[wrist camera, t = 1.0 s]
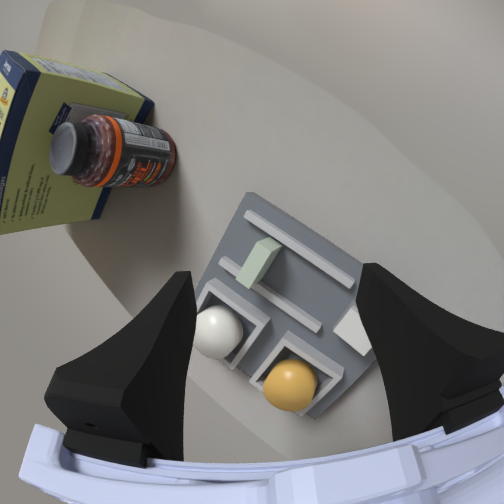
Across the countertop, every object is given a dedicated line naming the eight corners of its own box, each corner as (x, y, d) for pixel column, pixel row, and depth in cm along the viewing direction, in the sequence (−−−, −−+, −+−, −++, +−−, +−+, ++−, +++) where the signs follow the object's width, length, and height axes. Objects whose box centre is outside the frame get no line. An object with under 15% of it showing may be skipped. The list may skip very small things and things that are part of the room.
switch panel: (415, 302, 21) (421, 316, 18) (317, 409, 26) (311, 428, 23) (253, 192, 24) (238, 191, 21) (187, 316, 29) (170, 327, 26)
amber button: (327, 376, 22) (322, 390, 20) (299, 404, 23) (293, 418, 21) (287, 350, 23) (280, 362, 21) (262, 380, 24) (254, 392, 22)
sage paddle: (282, 245, 22) (271, 251, 20) (262, 278, 23) (248, 288, 21) (269, 236, 23) (256, 241, 20) (250, 270, 24) (235, 279, 21)
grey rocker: (384, 330, 19) (383, 334, 18) (366, 351, 20) (363, 356, 19) (353, 305, 20) (350, 308, 20) (336, 327, 21) (332, 331, 20)
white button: (251, 325, 23) (241, 335, 22) (230, 356, 25) (219, 367, 23) (212, 295, 24) (200, 303, 22) (194, 329, 26) (182, 338, 24)
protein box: (63, 178, 34) (-36, 185, 20) (108, 73, 28) (3, 46, 14) (99, 222, 32) (-18, 242, 18) (157, 100, 26) (24, 64, 12)
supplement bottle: (151, 199, 28) (56, 206, 18) (125, 158, 29) (36, 153, 18) (189, 157, 26) (92, 144, 16) (159, 116, 26) (67, 94, 16)
